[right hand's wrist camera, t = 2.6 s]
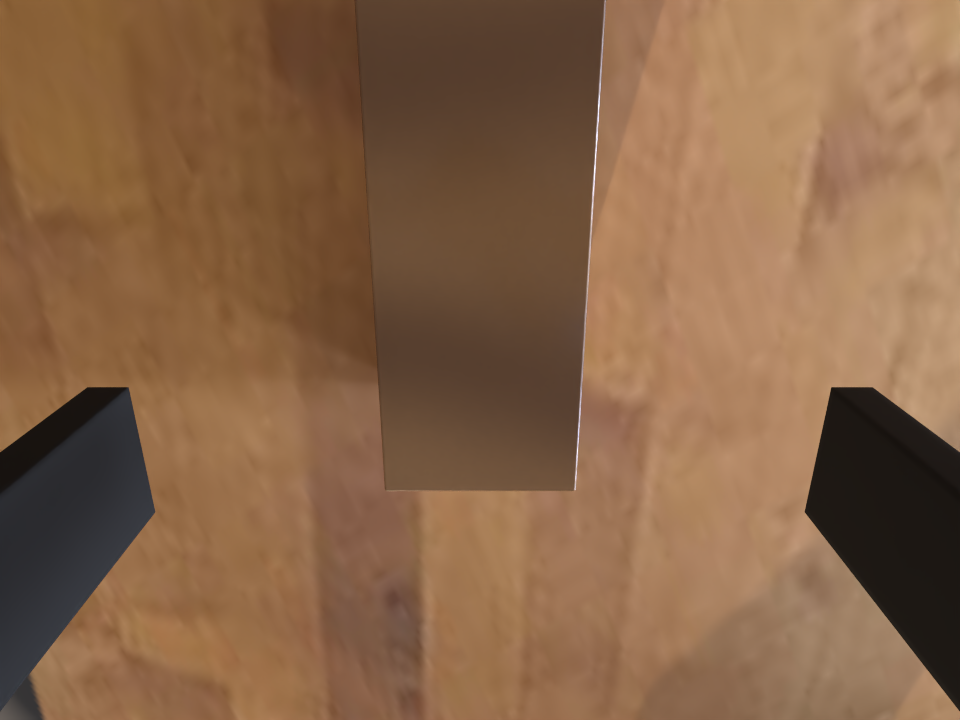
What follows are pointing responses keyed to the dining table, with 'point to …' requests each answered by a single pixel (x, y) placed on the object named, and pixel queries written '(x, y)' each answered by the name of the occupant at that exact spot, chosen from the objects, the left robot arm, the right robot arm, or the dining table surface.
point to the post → (480, 234)
